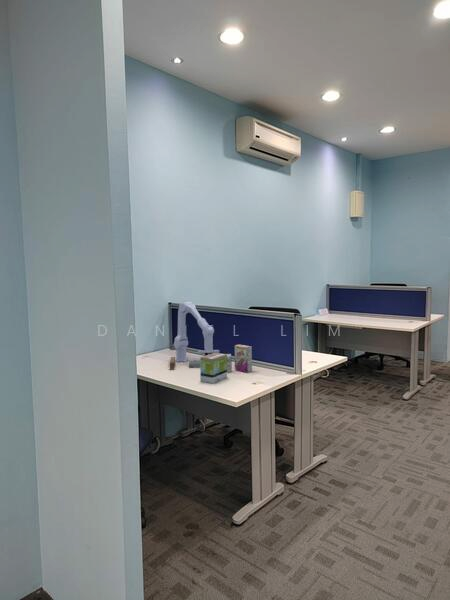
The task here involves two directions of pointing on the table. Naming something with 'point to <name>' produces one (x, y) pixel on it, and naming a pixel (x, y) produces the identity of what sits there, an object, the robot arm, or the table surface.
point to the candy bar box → (243, 358)
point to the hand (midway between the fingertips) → (208, 363)
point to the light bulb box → (229, 363)
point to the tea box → (213, 367)
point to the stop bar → (172, 363)
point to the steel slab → (194, 364)
